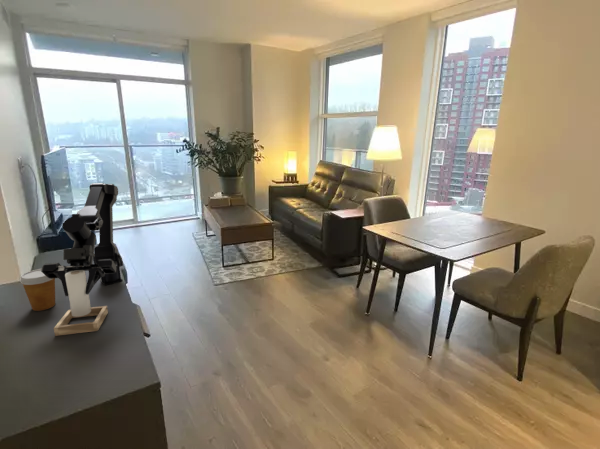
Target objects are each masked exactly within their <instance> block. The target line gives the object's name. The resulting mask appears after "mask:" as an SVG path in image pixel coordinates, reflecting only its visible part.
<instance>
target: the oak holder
mask: <svg viewBox="0 0 600 449" xmlns="http://www.w3.org/2000/svg"><path fill="white" fill-rule="evenodd" d="M108 309H109V308H108V305H101V306H93V307H91V312H90V313H89V314H87V315H84V316H80V317H79V318H84V317H93V316H94V317H95V316H96V318H95V319H94V321H91V322H81V323H72V324H69V323H70V321H72V319H75V318H78V317H74V316H72V313H71V309H68V310H67V311H66V312H65V313H64V315H63V316H62V317H61V319H59V321H58V322H57V324H56V325H55V326H54V327H53V332H54V337H57V336H66V335H73V334H81V333H88V332H97V331H99V329H100V327H101V326H102V324H103V322H104V321H105V319H106V317H107V315H108V313H109V310H108Z"/></svg>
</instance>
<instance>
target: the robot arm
mask: <svg viewBox="0 0 600 449" xmlns="http://www.w3.org/2000/svg"><path fill="white" fill-rule="evenodd" d="M118 195H119V188H118V186H117V185H115V184H114V183H104V182H93V183H90V184H89V191H88V194H87V197H86V200H85V204H84V207H83V208H82V209H79V210H77V212H76V213H72V214H71V216H70V217H68V218H66V219H65V220H64V221H63V223H62V225H61V226H62V229H63V231H64V233H66V234H67V236H68V237H69V239H71V240H72V241H74V242H73V246H72V247H71V248H64V249H63V250H62V251H63V253H62V254H63V255H62V256H63V261H66V264H69V265H62V264H60V262H50V263H49V262H48V263H47V262H46V263H44V264H43V265H42V266H41V269H42V270H41V272H42V273H43V274H44V275H46V276H47V277H48V278H51V279H53V278H55V279H59V280H60V281H61V284H62V288H63V293H64V296H65V297H69V295H68V290H67V284H66V278H65V274H66V273H68V272H70V271H74V270H84V271H85V272H88V278H87V286H86V294H89V295H90V293H91V291H92V290H93V289H94V287H95V285H96V284H97V283H98V281H99V282H101V283H102V284H103V285H104V286H107V285H111V284H116V283H119V282H123V278H122V277H121V275H122V274H121V269H120V268H121V267H122V266H124V262H123V257H122V256H121V254H120V252H119V249H118V247H117V245H115V243H114V226H113V223H114V219H113V217H114V216H113V206H114V205H115V204H116V202H117V201H118ZM93 231H99V243H98V244H97V246H96V242H97V236H96V233H94V232H93Z"/></svg>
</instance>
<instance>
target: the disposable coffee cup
mask: <svg viewBox="0 0 600 449" xmlns="http://www.w3.org/2000/svg"><path fill="white" fill-rule="evenodd" d="M41 270H42V268H38V269H33V270H30V271H26V272H24V273H22V274H21V275H20V278H19V282H20V283H21V284H22V286H23V289H24V291H25V293H26V296H27V300H28V302H29V304H30V306H31V308H32V310H33V311H38V312H41V311H45V310H48V309H50V308H53V307H54V306H55V305H56V278H53V279H51V278H48V277H47V276H46V275H44V274H43V273H42V272H41Z"/></svg>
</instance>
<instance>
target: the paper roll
mask: <svg viewBox="0 0 600 449" xmlns="http://www.w3.org/2000/svg"><path fill="white" fill-rule="evenodd" d="M86 275H87V274H86V271H84V270H74V271H70V272H68V273H66V274H65V278H66V284H67V290H68V299H69V307H70V310H71V313H72V316H74V317H77V318H81V317H80V316H84V315H87V314H89V313H90V312H91V301H90V300H91V299H90V293H89V294H86V286H87V282H88V279H87V276H86Z"/></svg>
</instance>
